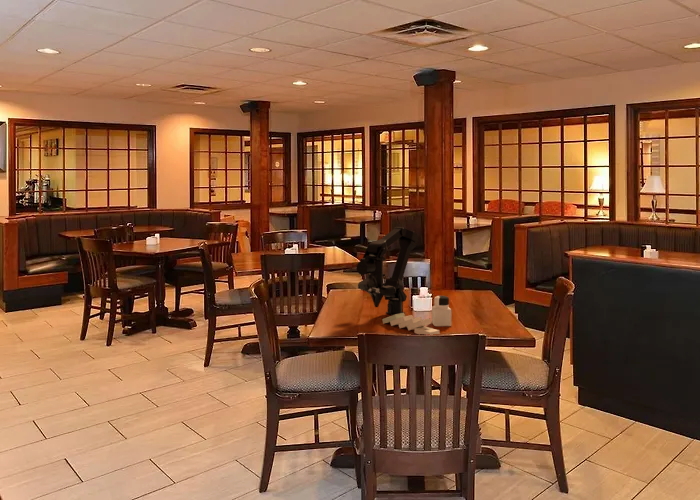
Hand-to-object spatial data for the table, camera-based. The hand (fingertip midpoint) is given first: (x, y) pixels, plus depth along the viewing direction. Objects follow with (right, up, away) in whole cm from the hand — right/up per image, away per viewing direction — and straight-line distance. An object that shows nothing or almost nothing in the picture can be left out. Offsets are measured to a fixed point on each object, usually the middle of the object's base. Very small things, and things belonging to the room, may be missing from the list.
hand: (376, 307), depth 271 cm
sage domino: (+4, -5, -5) cm, 9 cm away
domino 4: (+16, -7, -21) cm, 27 cm away
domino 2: (+11, -6, -13) cm, 18 cm away
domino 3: (+14, -7, -18) cm, 23 cm away
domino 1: (+7, -6, -9) cm, 13 cm away
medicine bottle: (+27, -7, -8) cm, 29 cm away
